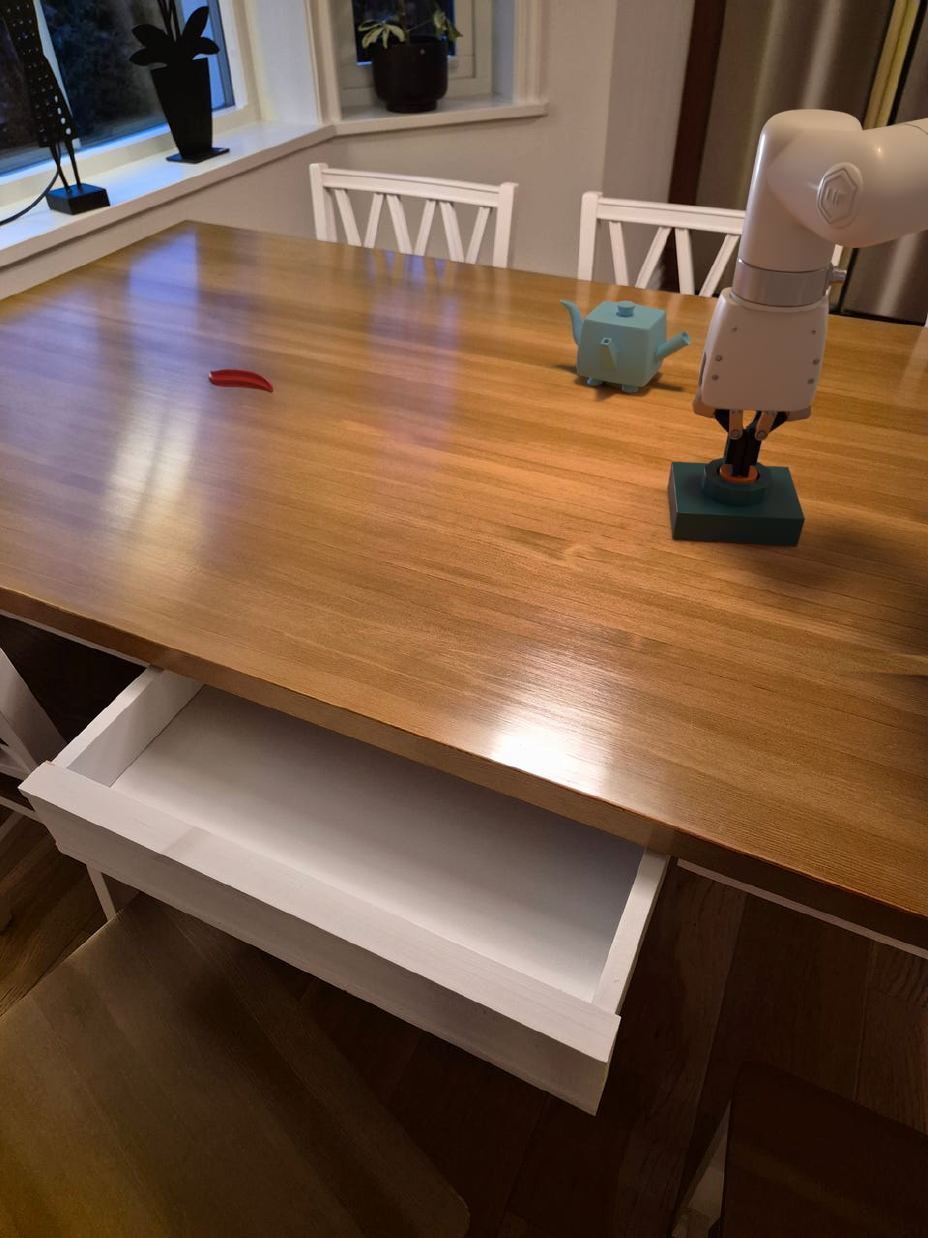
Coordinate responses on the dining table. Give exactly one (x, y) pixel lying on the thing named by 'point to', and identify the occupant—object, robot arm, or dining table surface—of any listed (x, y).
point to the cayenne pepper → (239, 379)
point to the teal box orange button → (734, 505)
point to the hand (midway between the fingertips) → (737, 469)
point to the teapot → (622, 343)
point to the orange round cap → (738, 479)
